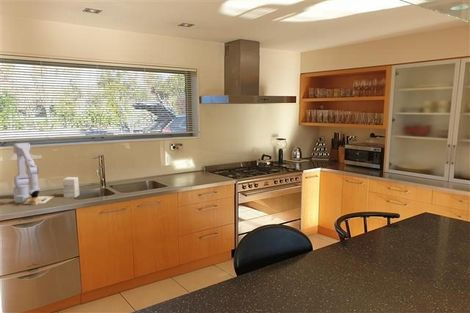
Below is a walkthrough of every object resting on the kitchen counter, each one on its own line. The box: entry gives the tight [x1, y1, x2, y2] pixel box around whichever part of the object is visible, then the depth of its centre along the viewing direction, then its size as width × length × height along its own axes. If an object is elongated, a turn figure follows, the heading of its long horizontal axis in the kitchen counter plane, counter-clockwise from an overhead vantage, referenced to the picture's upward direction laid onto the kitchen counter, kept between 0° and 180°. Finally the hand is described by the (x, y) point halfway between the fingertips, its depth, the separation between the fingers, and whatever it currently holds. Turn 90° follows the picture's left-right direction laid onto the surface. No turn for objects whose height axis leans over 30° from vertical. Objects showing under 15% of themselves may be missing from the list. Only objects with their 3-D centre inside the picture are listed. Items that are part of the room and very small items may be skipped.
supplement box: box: [62, 176, 80, 198], centre depth 265 cm, size 9×9×15 cm
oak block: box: [26, 196, 40, 206], centre depth 241 cm, size 6×5×4 cm
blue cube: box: [14, 195, 27, 204], centre depth 247 cm, size 5×5×5 cm
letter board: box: [22, 195, 55, 205], centre depth 254 cm, size 15×21×1 cm
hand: (35, 201), depth 244 cm, fingers closed, pressing on oak block
